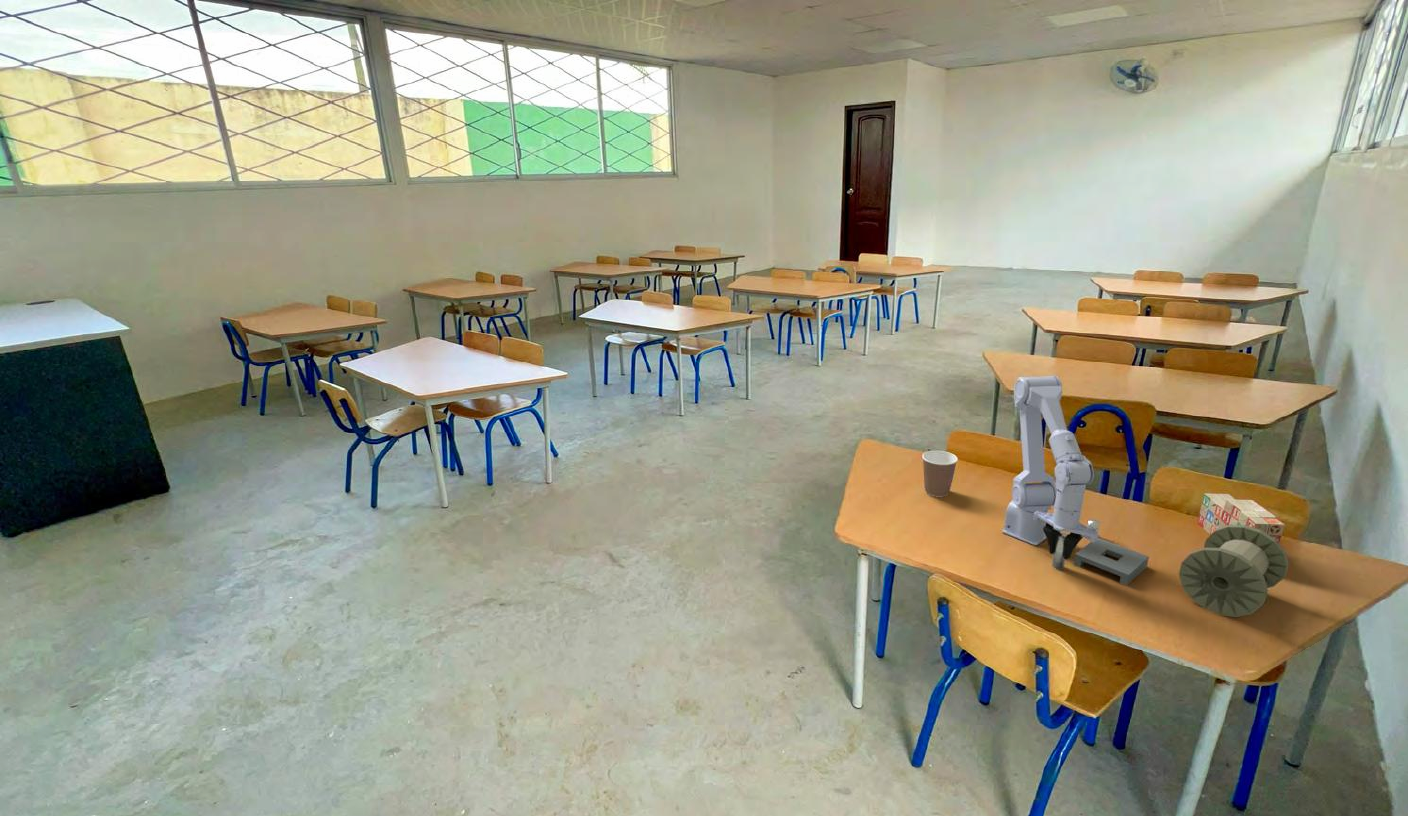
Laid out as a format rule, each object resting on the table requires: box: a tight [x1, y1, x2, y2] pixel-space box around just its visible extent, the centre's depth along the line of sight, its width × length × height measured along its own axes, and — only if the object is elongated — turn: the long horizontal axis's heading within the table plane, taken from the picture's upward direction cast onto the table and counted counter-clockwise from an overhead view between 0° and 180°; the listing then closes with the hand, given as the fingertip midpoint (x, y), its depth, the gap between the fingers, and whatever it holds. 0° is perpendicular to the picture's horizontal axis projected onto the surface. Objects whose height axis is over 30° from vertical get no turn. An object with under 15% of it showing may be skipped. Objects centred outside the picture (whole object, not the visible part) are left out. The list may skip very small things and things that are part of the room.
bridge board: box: [1073, 537, 1150, 587], centre depth 159 cm, size 12×12×3 cm
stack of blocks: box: [1197, 493, 1286, 544], centre depth 165 cm, size 21×6×12 cm, turn 170°
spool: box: [1178, 525, 1290, 618], centre depth 144 cm, size 16×15×15 cm
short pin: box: [1086, 518, 1101, 533], centre depth 172 cm, size 3×3×4 cm
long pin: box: [1051, 532, 1069, 571], centre depth 159 cm, size 3×3×9 cm
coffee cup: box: [921, 450, 959, 498], centre depth 198 cm, size 10×10×12 cm
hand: (1059, 555), depth 159 cm, fingers open, 3 cm apart
